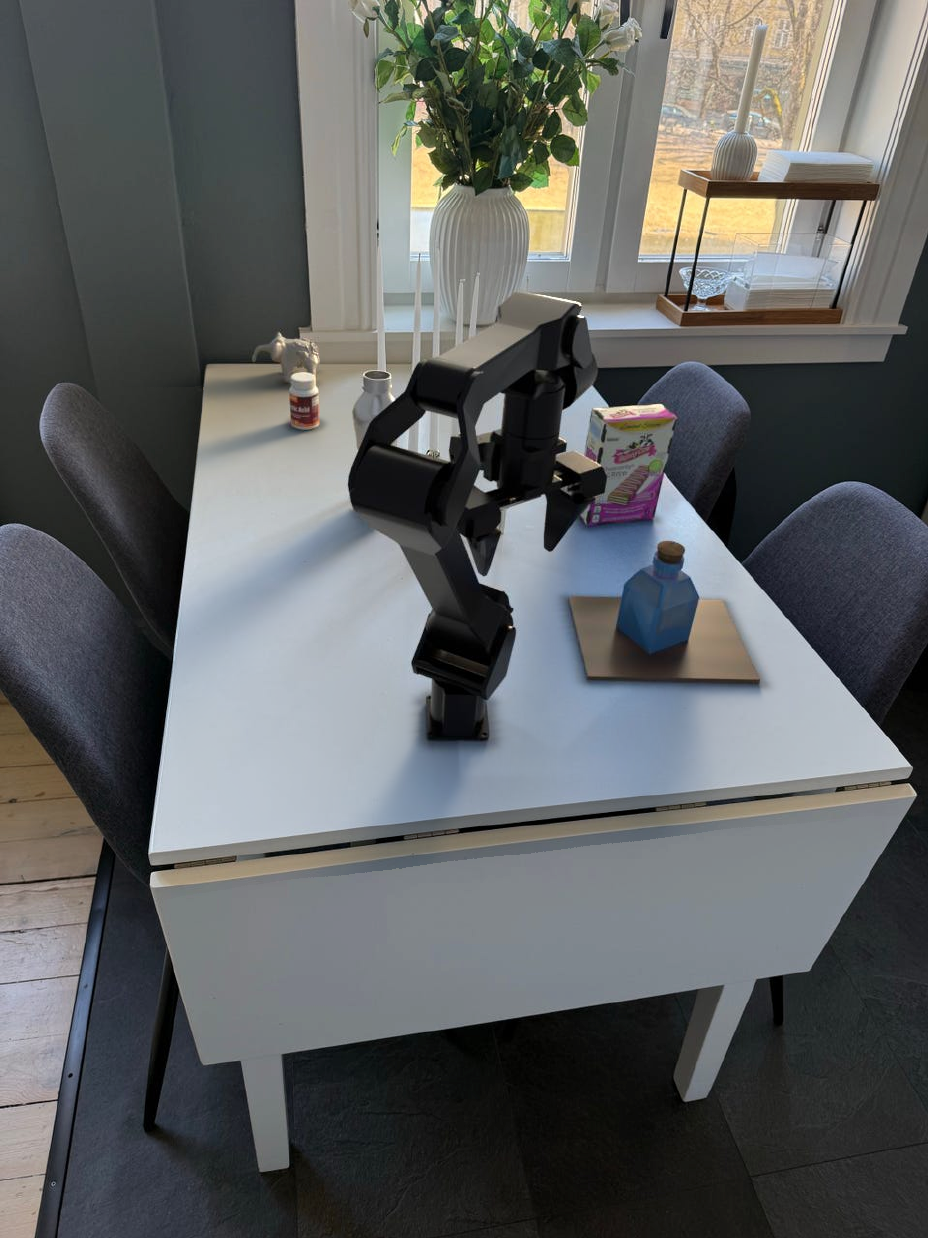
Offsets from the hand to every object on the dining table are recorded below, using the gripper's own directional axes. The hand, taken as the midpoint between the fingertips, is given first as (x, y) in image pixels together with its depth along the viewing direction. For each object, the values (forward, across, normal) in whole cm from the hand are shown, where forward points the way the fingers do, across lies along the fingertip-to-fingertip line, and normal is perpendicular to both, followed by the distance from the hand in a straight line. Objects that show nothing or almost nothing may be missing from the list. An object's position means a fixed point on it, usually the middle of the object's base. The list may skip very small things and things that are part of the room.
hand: (515, 561), depth 98 cm
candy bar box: (+13, -35, -17) cm, 41 cm away
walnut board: (+13, -18, +8) cm, 23 cm away
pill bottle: (+14, -11, -68) cm, 70 cm away
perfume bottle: (+13, -17, +7) cm, 23 cm away
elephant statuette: (+14, -18, -87) cm, 90 cm away
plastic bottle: (+13, -6, -37) cm, 40 cm away
